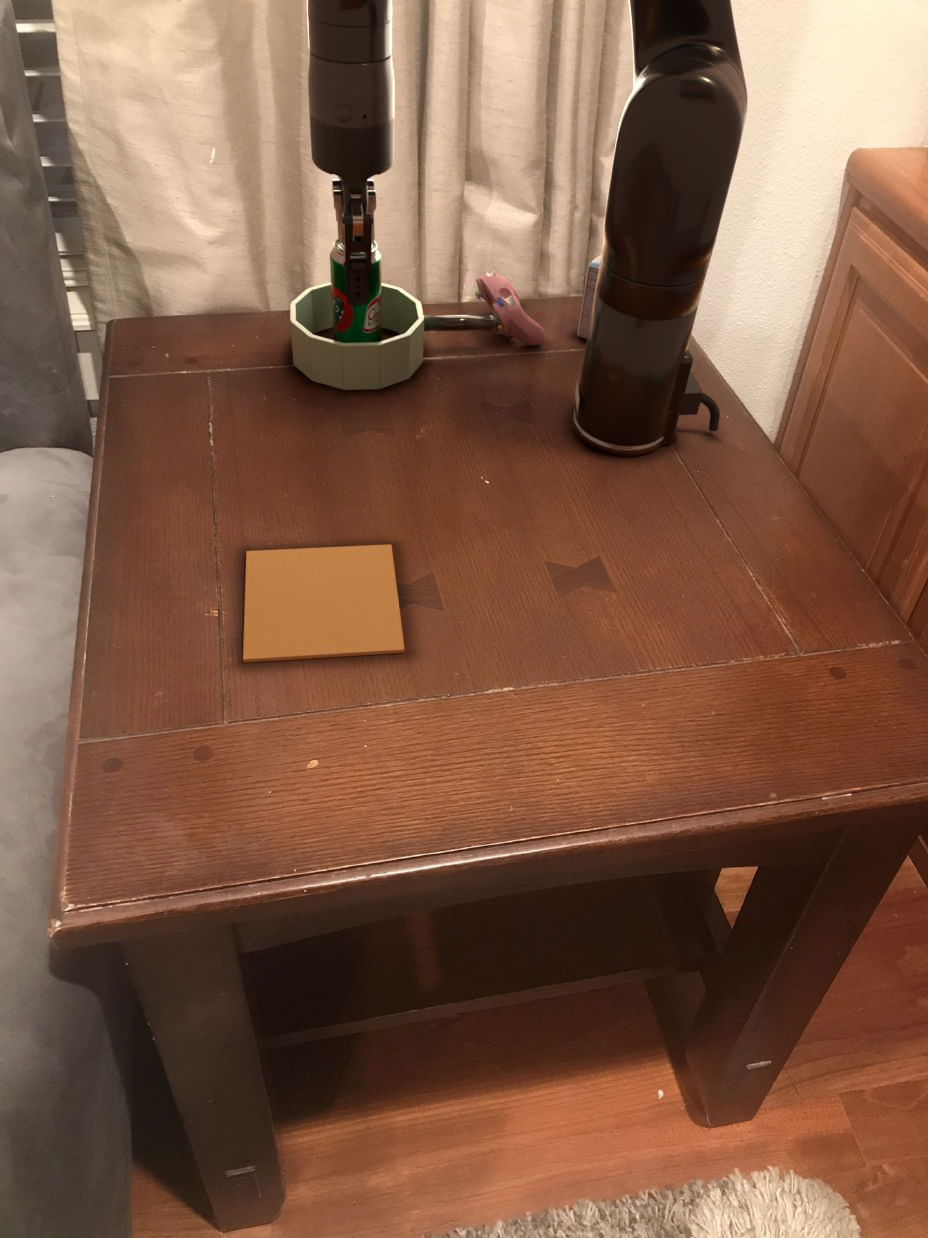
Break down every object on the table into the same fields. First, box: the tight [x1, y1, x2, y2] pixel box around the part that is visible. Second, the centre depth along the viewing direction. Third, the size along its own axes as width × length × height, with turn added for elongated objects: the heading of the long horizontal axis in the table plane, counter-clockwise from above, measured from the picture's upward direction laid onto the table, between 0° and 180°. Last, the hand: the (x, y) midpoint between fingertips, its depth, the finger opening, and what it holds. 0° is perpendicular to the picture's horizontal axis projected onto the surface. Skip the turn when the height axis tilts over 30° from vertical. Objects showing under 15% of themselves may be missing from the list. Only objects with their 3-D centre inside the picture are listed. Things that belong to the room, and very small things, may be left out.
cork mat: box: [242, 543, 405, 664], centre depth 75 cm, size 12×12×1 cm
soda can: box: [329, 238, 383, 343], centre depth 97 cm, size 5×5×12 cm
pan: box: [289, 281, 498, 391], centre depth 100 cm, size 22×14×5 cm, turn 98°
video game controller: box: [474, 269, 546, 347], centre depth 105 cm, size 10×5×7 cm, turn 17°
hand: (356, 288), depth 96 cm, fingers closed on soda can, 5 cm apart
